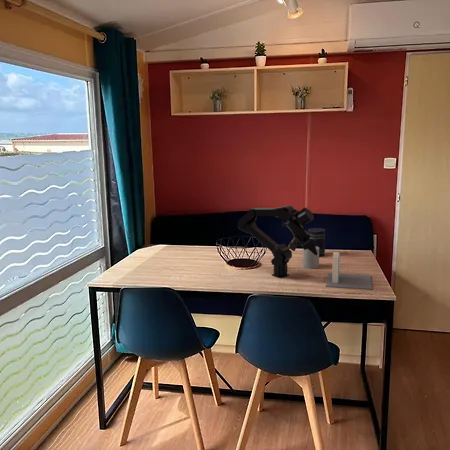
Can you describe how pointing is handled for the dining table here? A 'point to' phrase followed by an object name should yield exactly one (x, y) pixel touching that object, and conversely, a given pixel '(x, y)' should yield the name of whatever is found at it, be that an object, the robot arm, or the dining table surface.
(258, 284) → the dining table surface
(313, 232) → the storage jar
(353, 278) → the mat
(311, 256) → the cup
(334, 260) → the cream flat block
